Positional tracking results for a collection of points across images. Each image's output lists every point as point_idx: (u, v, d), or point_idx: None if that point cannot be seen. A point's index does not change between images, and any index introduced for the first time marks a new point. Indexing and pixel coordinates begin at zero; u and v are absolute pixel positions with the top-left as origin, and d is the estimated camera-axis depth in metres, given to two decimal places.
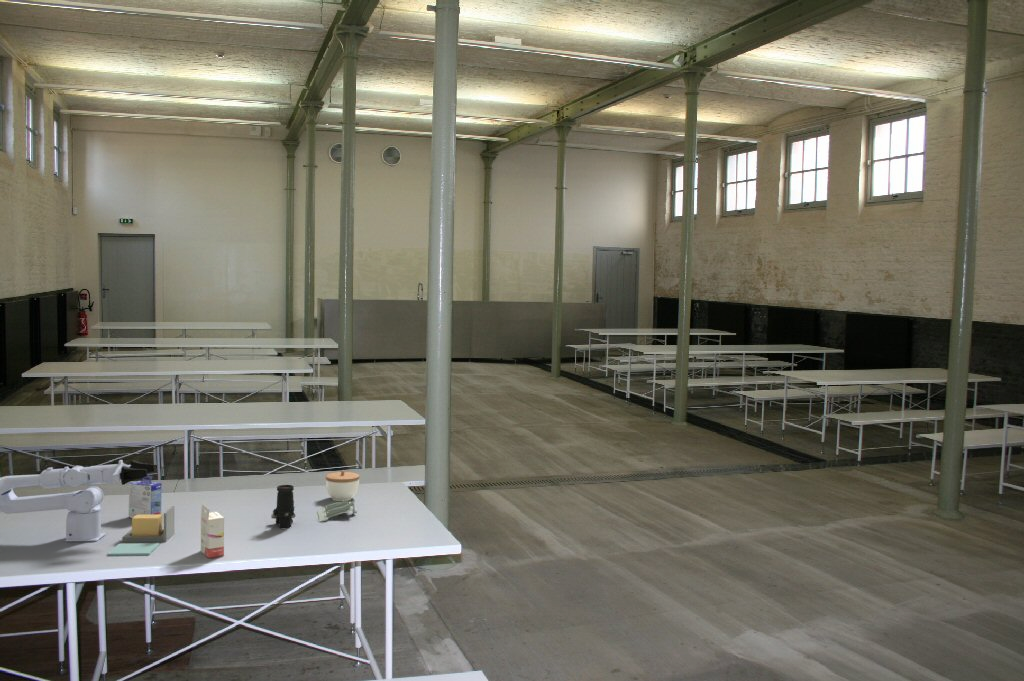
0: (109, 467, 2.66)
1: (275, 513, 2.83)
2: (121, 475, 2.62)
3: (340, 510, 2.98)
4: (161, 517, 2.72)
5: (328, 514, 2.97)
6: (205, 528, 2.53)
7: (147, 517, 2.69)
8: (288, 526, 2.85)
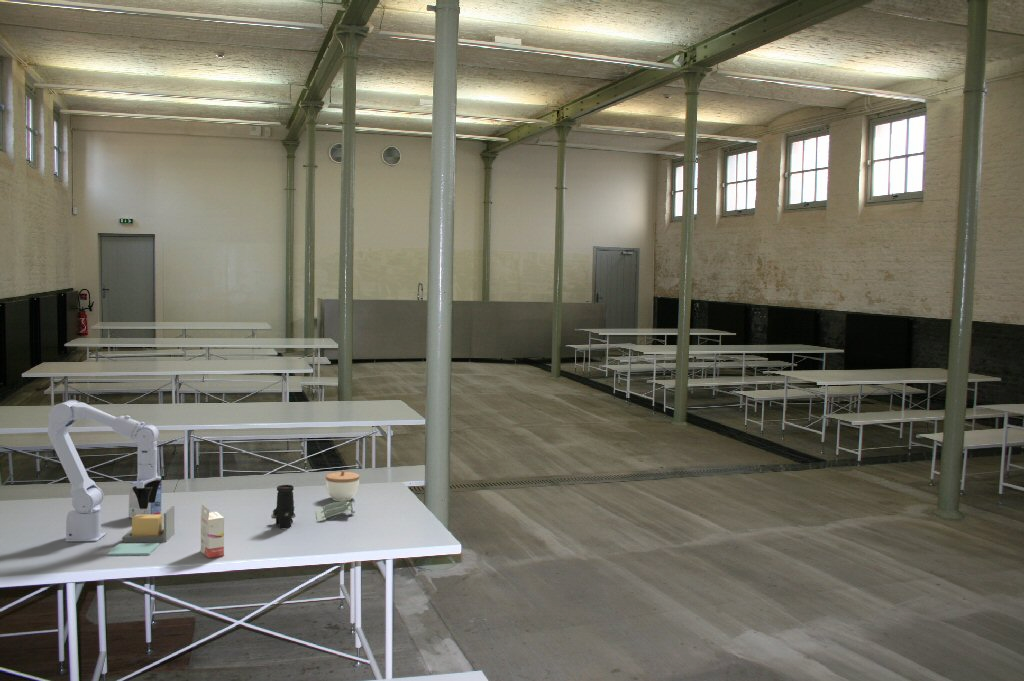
0: (153, 469, 2.68)
1: (275, 513, 2.83)
2: (142, 488, 2.63)
3: (338, 510, 2.98)
4: (161, 517, 2.71)
5: (326, 514, 2.97)
6: (205, 528, 2.53)
7: (147, 517, 2.69)
8: (288, 526, 2.85)
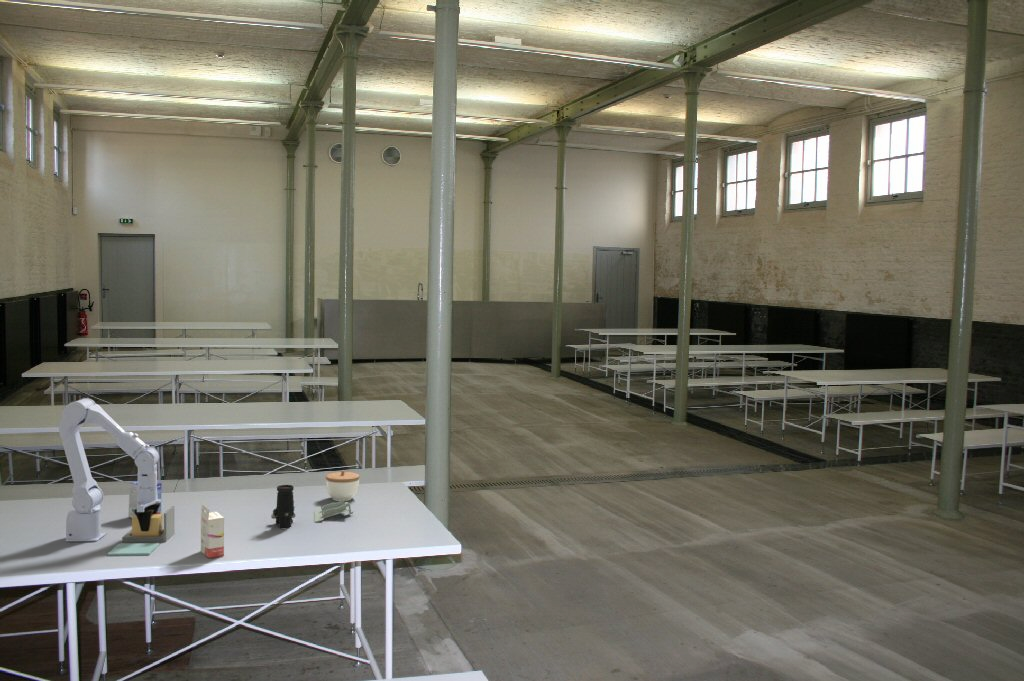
0: (153, 493, 2.68)
1: (275, 513, 2.83)
2: (143, 511, 2.65)
3: (336, 510, 2.97)
4: (161, 517, 2.72)
5: (324, 514, 2.96)
6: (205, 528, 2.53)
7: None
8: (288, 526, 2.85)
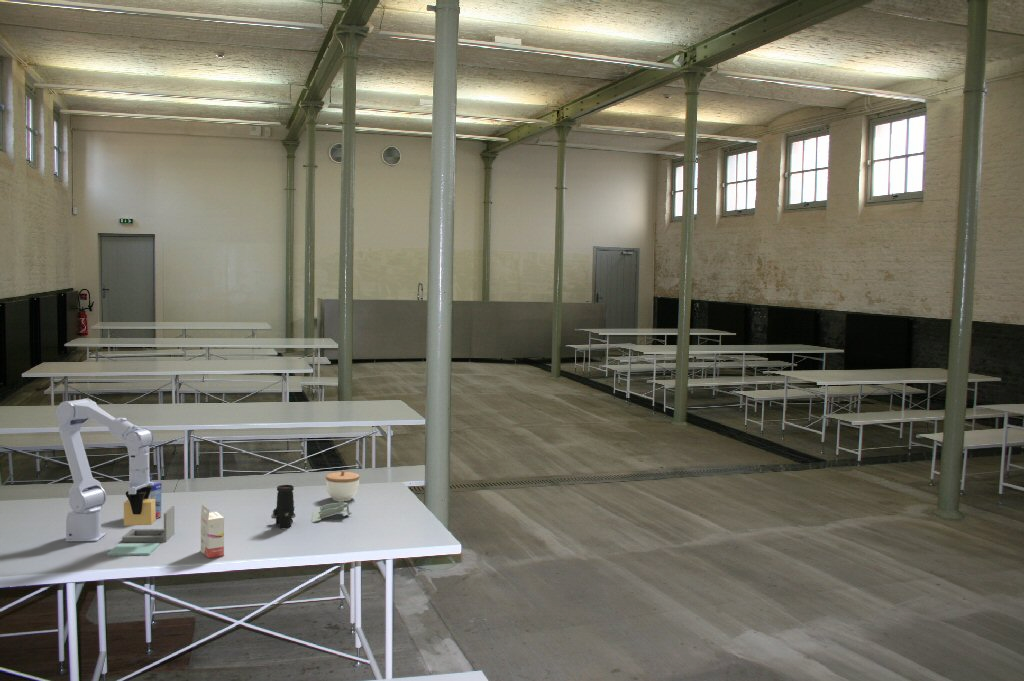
0: (145, 475, 2.60)
1: (275, 513, 2.83)
2: (135, 493, 2.57)
3: (333, 511, 2.97)
4: (154, 501, 2.63)
5: (321, 515, 2.96)
6: (205, 528, 2.53)
7: None
8: (288, 526, 2.85)
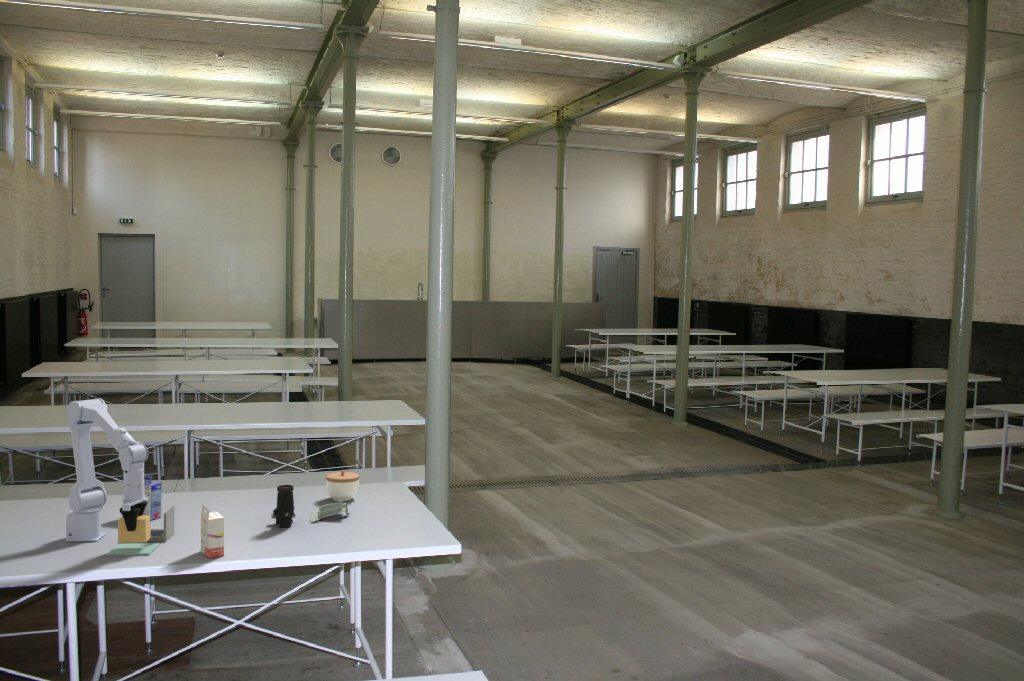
0: (140, 491, 2.55)
1: (275, 513, 2.83)
2: (129, 510, 2.52)
3: (332, 511, 2.96)
4: (148, 518, 2.58)
5: (320, 515, 2.96)
6: (205, 528, 2.53)
7: None
8: (288, 526, 2.85)
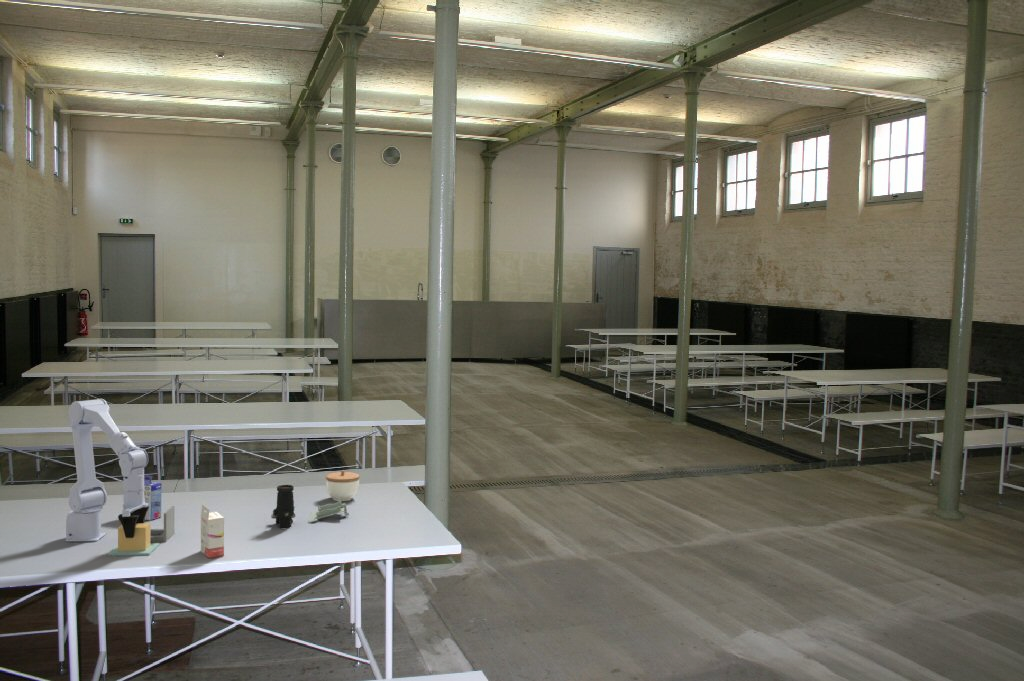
0: (140, 496, 2.55)
1: (275, 513, 2.83)
2: (128, 517, 2.51)
3: (330, 512, 2.96)
4: (149, 526, 2.59)
5: (318, 515, 2.95)
6: (205, 528, 2.53)
7: None
8: (288, 526, 2.85)
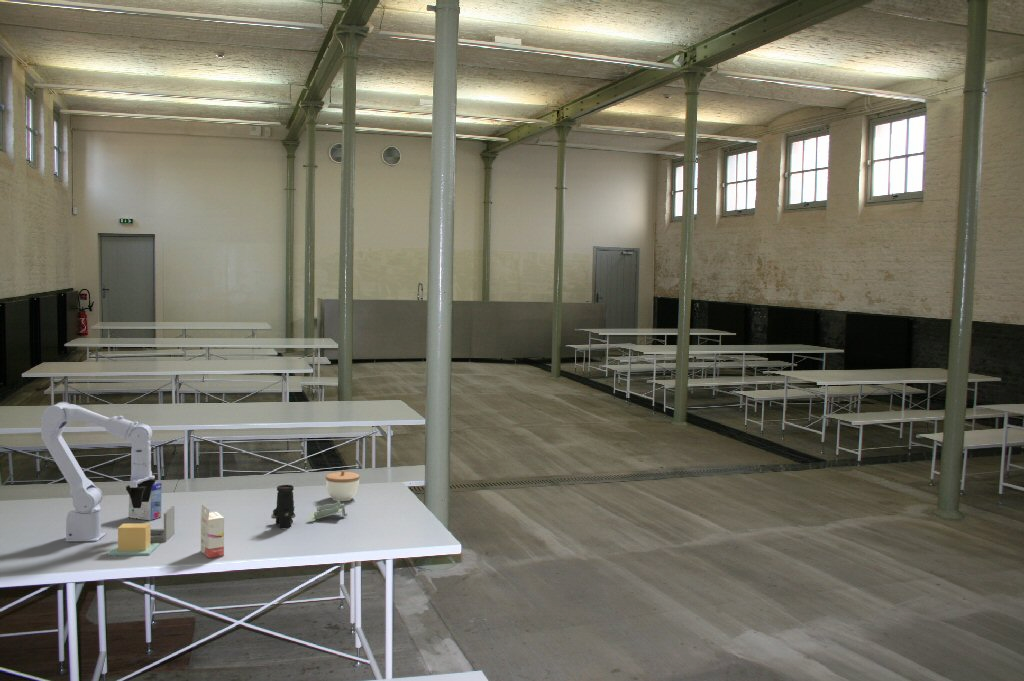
0: (146, 469, 2.69)
1: (275, 513, 2.83)
2: (135, 488, 2.64)
3: (328, 512, 2.95)
4: (149, 526, 2.59)
5: (316, 515, 2.95)
6: (205, 528, 2.53)
7: (134, 526, 2.56)
8: (288, 526, 2.85)
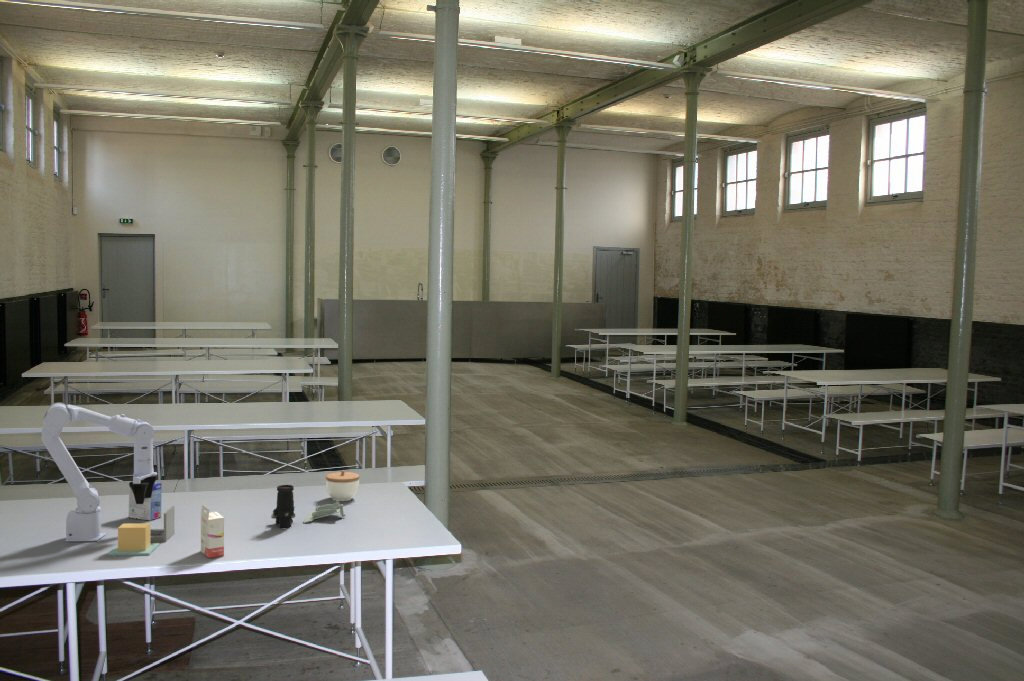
0: (149, 465, 2.73)
1: (275, 513, 2.83)
2: (138, 484, 2.69)
3: (326, 512, 2.95)
4: (149, 526, 2.59)
5: (314, 516, 2.95)
6: (205, 528, 2.53)
7: (134, 526, 2.56)
8: (288, 526, 2.85)
